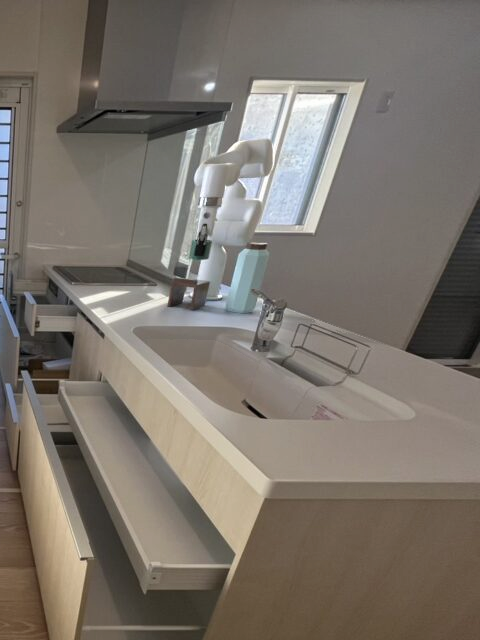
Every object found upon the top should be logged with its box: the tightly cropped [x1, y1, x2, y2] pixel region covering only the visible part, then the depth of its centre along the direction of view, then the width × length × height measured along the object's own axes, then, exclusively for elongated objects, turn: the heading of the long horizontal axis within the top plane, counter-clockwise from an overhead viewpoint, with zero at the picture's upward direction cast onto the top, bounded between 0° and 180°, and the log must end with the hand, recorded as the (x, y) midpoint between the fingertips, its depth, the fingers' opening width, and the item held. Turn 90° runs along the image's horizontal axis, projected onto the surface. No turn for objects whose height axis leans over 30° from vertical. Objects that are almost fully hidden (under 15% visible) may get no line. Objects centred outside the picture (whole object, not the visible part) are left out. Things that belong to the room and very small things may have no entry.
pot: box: [188, 238, 212, 261], centre depth 153 cm, size 7×7×6 cm
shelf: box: [166, 277, 210, 311], centre depth 165 cm, size 11×10×12 cm
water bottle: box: [225, 242, 270, 314], centre depth 155 cm, size 10×10×25 cm
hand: (199, 254), depth 154 cm, fingers closed on pot, 6 cm apart
